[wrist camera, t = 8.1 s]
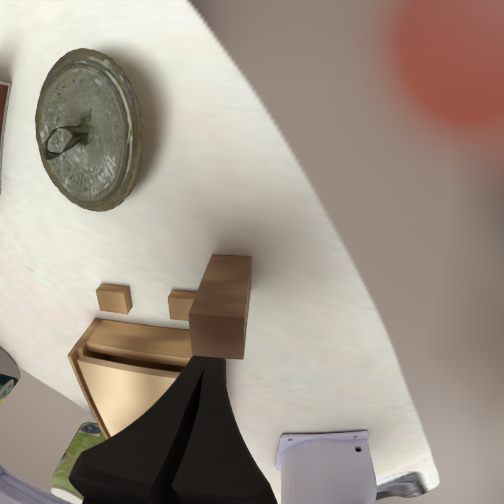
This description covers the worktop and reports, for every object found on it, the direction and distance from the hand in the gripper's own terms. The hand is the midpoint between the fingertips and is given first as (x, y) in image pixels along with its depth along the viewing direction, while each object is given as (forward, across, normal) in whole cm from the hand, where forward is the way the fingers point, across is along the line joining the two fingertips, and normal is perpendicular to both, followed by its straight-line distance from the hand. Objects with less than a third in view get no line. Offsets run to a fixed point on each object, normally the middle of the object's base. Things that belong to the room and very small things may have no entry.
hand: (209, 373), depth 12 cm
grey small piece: (+10, +9, -10) cm, 17 cm away
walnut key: (+9, 0, 0) cm, 9 cm away
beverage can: (+10, +16, +23) cm, 30 cm away
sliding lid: (+5, +6, +12) cm, 14 cm away
